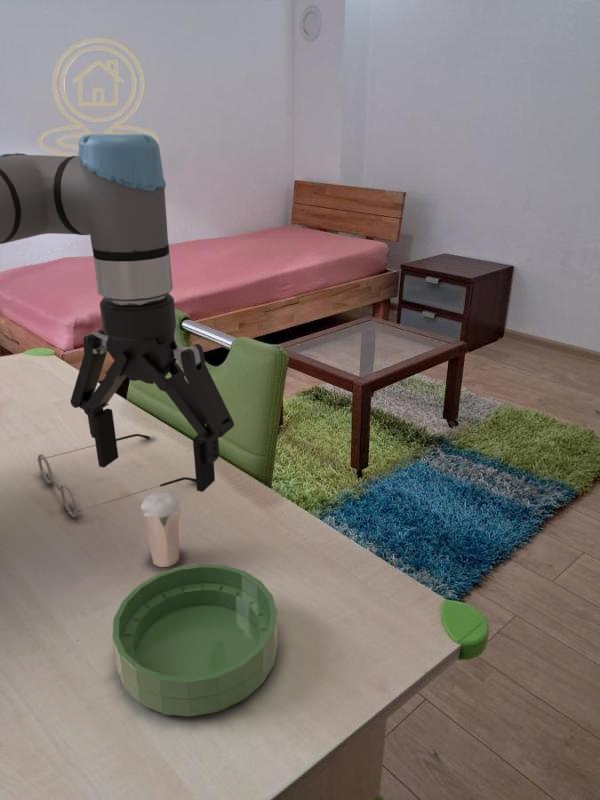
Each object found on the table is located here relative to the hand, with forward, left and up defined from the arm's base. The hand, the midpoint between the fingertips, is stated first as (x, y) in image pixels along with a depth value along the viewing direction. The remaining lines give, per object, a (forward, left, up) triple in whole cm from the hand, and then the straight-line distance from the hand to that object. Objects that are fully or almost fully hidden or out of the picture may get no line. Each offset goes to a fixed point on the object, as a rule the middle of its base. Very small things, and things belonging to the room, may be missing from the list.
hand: (155, 473), depth 74 cm
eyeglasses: (-18, +14, -13) cm, 26 cm away
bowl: (+12, -11, -13) cm, 20 cm away
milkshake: (0, 0, -13) cm, 13 cm away
